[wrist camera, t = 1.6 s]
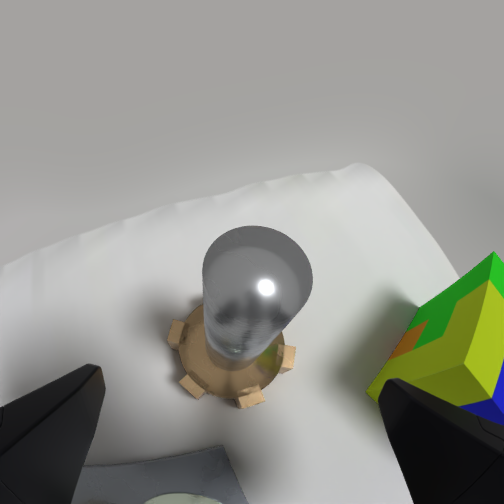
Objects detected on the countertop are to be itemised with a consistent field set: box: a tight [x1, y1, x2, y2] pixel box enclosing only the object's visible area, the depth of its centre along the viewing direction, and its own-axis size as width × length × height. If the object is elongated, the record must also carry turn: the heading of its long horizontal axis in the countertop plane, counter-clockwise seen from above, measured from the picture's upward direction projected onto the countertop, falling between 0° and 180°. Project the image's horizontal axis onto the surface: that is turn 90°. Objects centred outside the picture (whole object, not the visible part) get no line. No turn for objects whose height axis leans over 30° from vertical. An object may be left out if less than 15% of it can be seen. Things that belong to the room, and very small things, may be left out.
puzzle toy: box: [366, 251, 504, 425], centre depth 14 cm, size 10×10×10 cm
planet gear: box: [167, 226, 313, 409], centre depth 13 cm, size 8×7×12 cm
